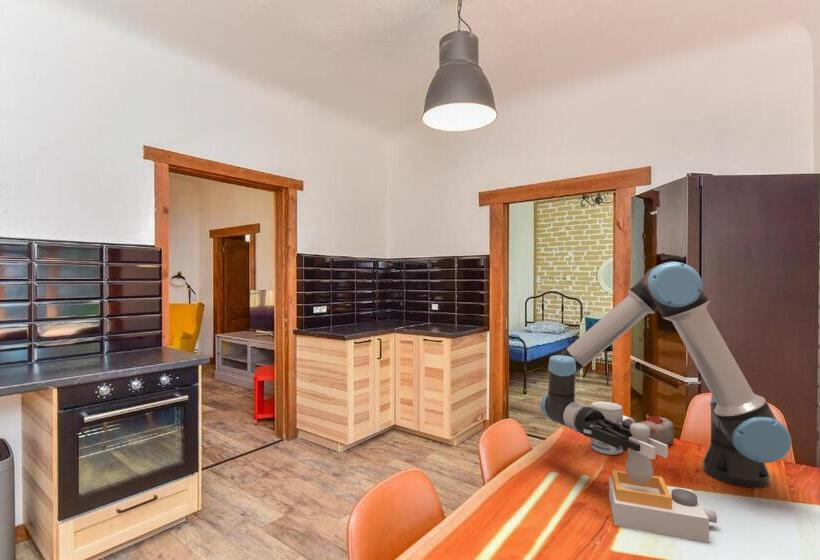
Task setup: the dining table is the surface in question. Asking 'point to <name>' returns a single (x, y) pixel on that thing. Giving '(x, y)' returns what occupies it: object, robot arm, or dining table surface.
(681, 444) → the dining table surface
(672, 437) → the food item
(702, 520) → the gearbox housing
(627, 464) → the salt shaker
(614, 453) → the supplement tub
